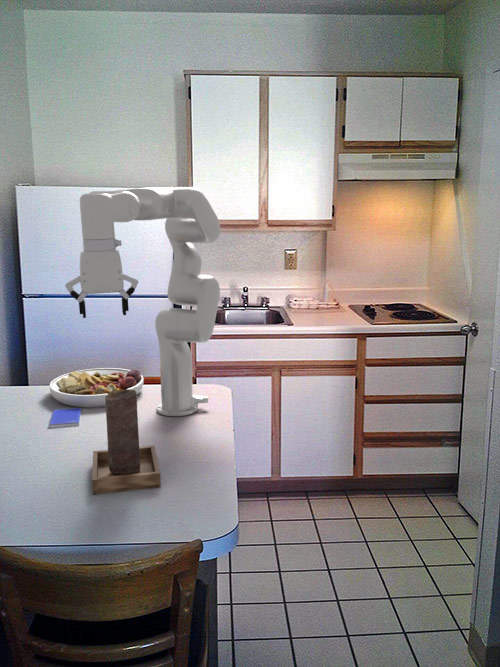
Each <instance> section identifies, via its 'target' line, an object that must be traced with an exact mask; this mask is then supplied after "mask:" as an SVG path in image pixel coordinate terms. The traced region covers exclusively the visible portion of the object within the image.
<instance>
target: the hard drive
mask: <svg viewBox="0 0 500 667" xmlns="http://www.w3.org/2000/svg"><path fill="white" fill-rule="evenodd" d="M81 415H82V407H74V408H62V409H59V408H58V409H54V410H53V411H52V415H51V418H50V421H49V425H48V426H49V429H50V428H51V429H52V428H53V429H54V428H66V427H78V426H80V424H81V423H80V422H81Z"/></svg>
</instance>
